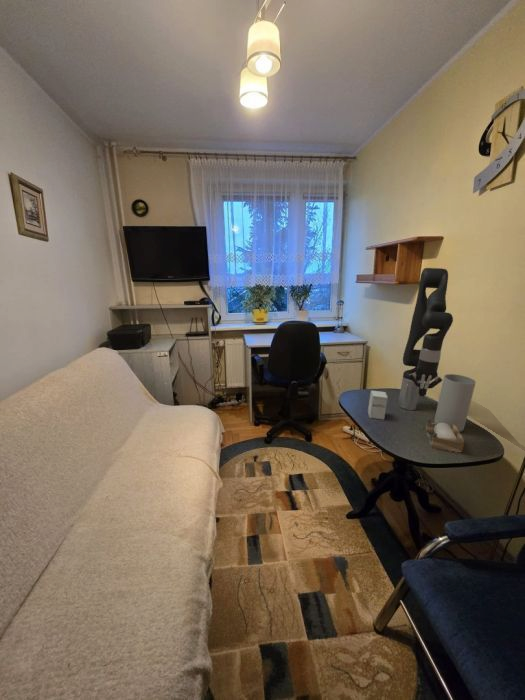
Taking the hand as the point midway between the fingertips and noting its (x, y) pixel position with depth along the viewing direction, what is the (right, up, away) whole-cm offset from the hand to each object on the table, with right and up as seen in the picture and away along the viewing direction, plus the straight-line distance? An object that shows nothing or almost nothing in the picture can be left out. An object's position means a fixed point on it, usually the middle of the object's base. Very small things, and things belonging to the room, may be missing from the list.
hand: (421, 395), depth 126 cm
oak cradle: (+11, -21, +2) cm, 24 cm away
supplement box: (-11, -14, +23) cm, 30 cm away
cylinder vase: (+22, -18, +16) cm, 32 cm away
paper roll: (+11, -18, +1) cm, 21 cm away
